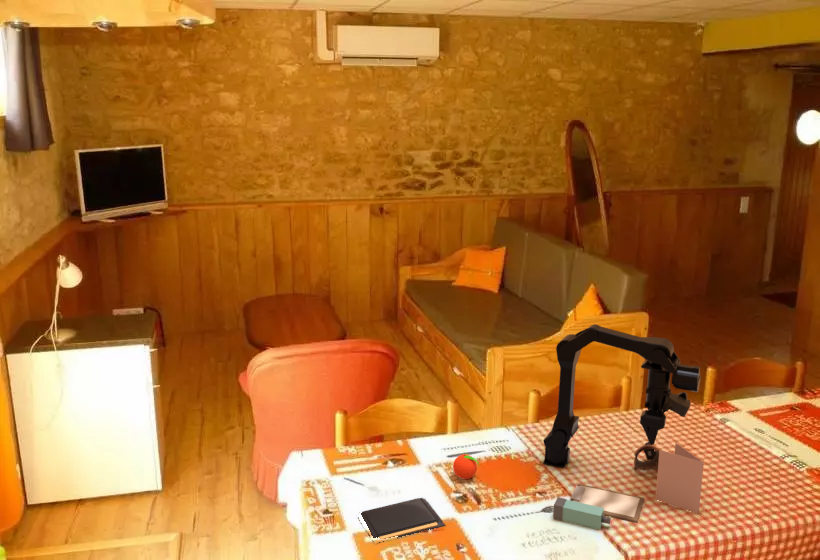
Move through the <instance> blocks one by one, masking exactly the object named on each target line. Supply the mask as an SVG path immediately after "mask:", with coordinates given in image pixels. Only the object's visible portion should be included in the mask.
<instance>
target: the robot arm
mask: <svg viewBox="0 0 820 560" xmlns="http://www.w3.org/2000/svg"><path fill="white" fill-rule="evenodd" d="M594 342H596V343H599V344H602V345H603V344H604V345H605V346H610V347H614V348H617V349H620V350H625V351H628V352H632V353H634V354H636V355H638V356H640V357H642V358H643V359H644V360H645V361H643V362H642V364H641V366H640V368H641V369H645V370H648V373H647V383H646V389H645V395H646V396H645V397H646V398H645V403H644V407H645V408H647V409H645V410H643V411H642V412H641V415H640V419H639V424H640V425H641V427H642V430H643V431H644V433H645V437H646V438H647V441H648V442H649V443H650V444H652V445H653V446H655V442H656V439H657V437H658V433H659V431H660V430H663V429H664V428H665V426H666V423H667V422H666V421H667V416H666V414H665V413H666V412H667V413H668V411H671V412H673V413H675V414H676V415H677V414H678V416H680V417H683V418H684V417H686V416H687V414H688V411H689V410H690V408H691V404H692V403H691V401H690V399H688V393H687V392H685V391H689V392H693V393H699V390H700V385H701V367H700V366H699V365H689V364H682V363H681V359H680V357H679V356H678V355H677V353H676V352H675V348H674V347H675V346H674V344H673V343H672V341H671V340H669V339H668V338H665V337H656V336H655V337H654V336H649V337H647V336H645V337H644V336H637V335H633V334H629V333H626V332H623V331H619V330H615V329H613V328H608V327H605V326H600V325H599V324H591V325H590V326H589V327H587V328H584V329H583V330H581V331H579V332H577V333H576V334H571V333H569V334H567V335H565V336H564V337H563V338H562V339H561V340H559V342H558V343H557V345H556V348H555V350H556V357H557V362H558V365H559V369H560V370H559V383H558V384H559V385H558V400H557V401H558V402H557V412H556V416H555V418H554V422H553V424H552V428H551V430H550V431H549V433H548V434H547V435H546V436H545V437H544V439H543V444H544V460H542V464H543V465H547V466H552V467H556V468H557V467H558V468H561V469H562V468H563V469H564V468H566V466H567V464H569V462H570V461H571V459H570V455H571V448H570V447H569V442H570V440H571V439H572V438H573V437H574V436H575V434H576V433H577V431H578V430H579V428H580V427H579V421H580V416H579V415H578V416H577V415H575V413H574V400H575V399H574V398H575V397H574V396H575V386H576V385H575V384H576V382H575V381H576V370H577V369H576V368H577V364H578V361H579V359H580V356H581V352H582V349H584V348H586V347H587V346H588V345H590V344H592V343H594ZM671 374H672V375H671ZM670 383H671V384H670ZM670 385H672V387H675V389H677V390H682V391H680V392H678V393H672V388H671V387H670Z"/></svg>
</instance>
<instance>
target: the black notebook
mask: <svg viewBox="0 0 820 560" xmlns="http://www.w3.org/2000/svg"><path fill="white" fill-rule="evenodd" d="M361 512H362V513H361V515H362V517H363V519H364V521H365V522H366V524H367V526H368V528H369V530H370V532H371V535H372V536H373V538H376V537H377V538H378V537H379V538H380V539H386V538H391V537H395V536H398V537H401V538H403V537H402V536H405V537H407V536H406V535H409V536H412V535H411V534H413V535H415V534H414V533H417V534H420V533H422V532H421V531H424V530H428V531H431V529H432V530H435V529H434V528H436V529H439V528H442V527H446V524H445V523H444V520H442V519H441V517H440V516H439V515H438V514H437V512H436V510H435V509H434V508H433V507H432V506H431V504H430V503H429V501H427V500H426V498H423V497H418V498H414V499H410V500H404V501H401V502H396V503H392V504H388V505H384V506H379V507H376V508H371V509H368V510H367V509H366V510H364V511H361ZM429 529H430V530H429ZM419 532H420V533H419ZM424 532H425V531H424Z"/></svg>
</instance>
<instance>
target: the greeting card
mask: <svg viewBox="0 0 820 560" xmlns="http://www.w3.org/2000/svg"><path fill="white" fill-rule="evenodd" d="M704 464H705V463H704V461H703V460H701V459H699V458H698V457H697V456H695V455H694V454H692V453H691V452H689V451H688V450H687V449H685V448H684V447H683V446H682V445H680V444H678V443H676V442H675V446H674V453H673V452H668V451H665V450H663V449H659V462H658V464H657V475H656V476H657V477H656V487H655V489H656V490H655V501H657V500H659V501H658V502H660V501H662V502H661V503H663V502H665V503H664V504H666V503H668V504H667V505H669V504H670V505H669V506H672V505H673V506H672V507H675V506H676V507H675V508H678V507H679V508H678V509H681V508H682V510H684V509H685V510H684V511H687V510H688V511H687V512H690V511H691V512H690V513H693V512H694V513H693V514H696V513H697V514H696V515H699V514H700V505H701V494H702V487H703V486H702V485H703V475H704Z"/></svg>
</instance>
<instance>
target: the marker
mask: <svg viewBox="0 0 820 560" xmlns="http://www.w3.org/2000/svg"><path fill="white" fill-rule="evenodd" d="M552 516H553V517H552V518H553V520H557V521H559V522H564V523H568V524H569V523H570V524H572V525H573V524H574V525H578V526H582V527H585V528H589V529H590V528H591V529H595V530H598V531H601V529H602V527H603V524H602V523H604V524H608V525H611V519H612V517H609V516H605V515H604V508H601V507H597V506H593V505H588V504H584V503H579V502H575V501H571V500H570V499H567V498H563V497H559V496H558V497H557V498H556V500H555V502H554V504H553V515H552Z"/></svg>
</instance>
